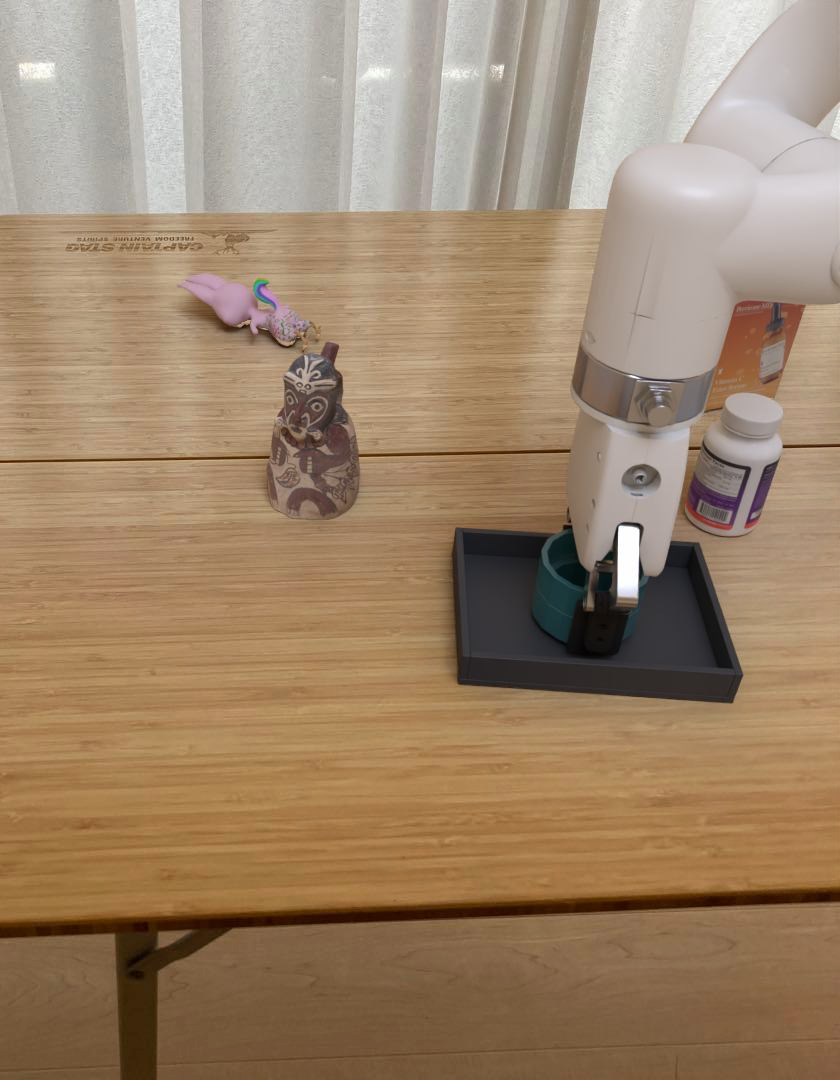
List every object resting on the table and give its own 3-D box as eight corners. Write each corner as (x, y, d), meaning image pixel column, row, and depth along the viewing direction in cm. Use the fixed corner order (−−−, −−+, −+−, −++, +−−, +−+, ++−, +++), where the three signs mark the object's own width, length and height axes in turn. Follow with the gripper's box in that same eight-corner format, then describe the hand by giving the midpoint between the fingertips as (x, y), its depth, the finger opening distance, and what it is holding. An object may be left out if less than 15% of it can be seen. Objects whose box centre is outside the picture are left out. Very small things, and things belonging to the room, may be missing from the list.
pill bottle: (735, 493, 86) (771, 384, 80) (770, 535, 82) (810, 424, 76) (670, 498, 86) (701, 389, 80) (702, 542, 82) (737, 430, 76)
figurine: (246, 496, 85) (245, 357, 77) (302, 455, 89) (306, 320, 82) (322, 532, 81) (328, 390, 74) (376, 488, 86) (387, 350, 79)
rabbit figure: (326, 346, 106) (197, 285, 111) (337, 292, 102) (204, 230, 106) (292, 373, 102) (160, 309, 106) (303, 318, 98) (165, 253, 102)
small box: (699, 414, 96) (731, 302, 89) (662, 382, 100) (690, 273, 93) (776, 400, 98) (813, 289, 91) (737, 369, 102) (770, 261, 95)
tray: (691, 569, 79) (699, 542, 78) (733, 703, 69) (743, 675, 67) (451, 554, 80) (455, 526, 78) (458, 684, 70) (462, 655, 68)
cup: (625, 587, 77) (640, 530, 73) (641, 657, 71) (659, 598, 68) (526, 581, 77) (537, 524, 74) (535, 649, 72) (547, 591, 68)
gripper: (746, 467, 56) (665, 711, 67) (679, 309, 69) (621, 534, 80) (595, 458, 56) (539, 702, 67) (558, 302, 70) (517, 527, 81)
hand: (584, 609), depth 74 cm, fingers closed on cup, 6 cm apart
